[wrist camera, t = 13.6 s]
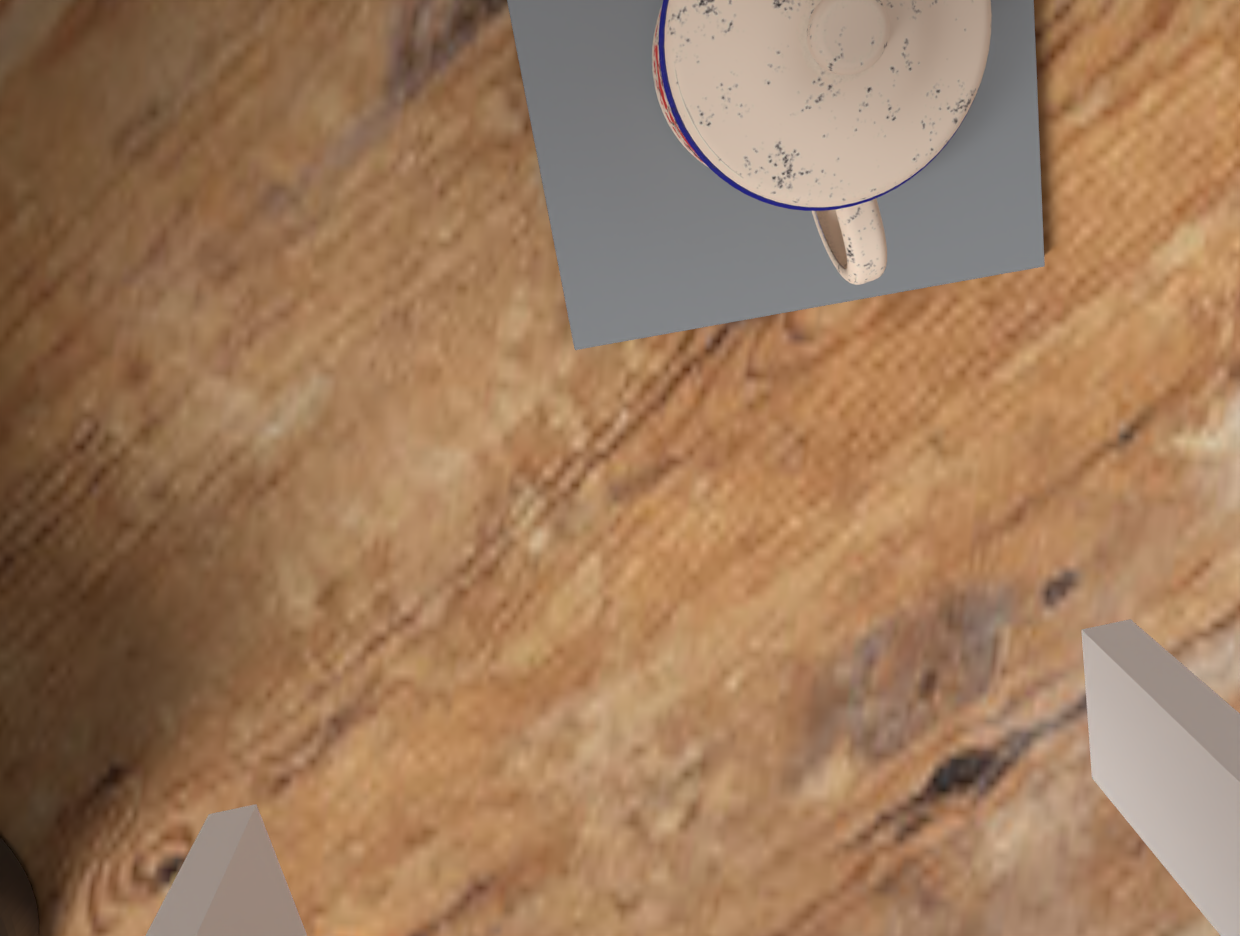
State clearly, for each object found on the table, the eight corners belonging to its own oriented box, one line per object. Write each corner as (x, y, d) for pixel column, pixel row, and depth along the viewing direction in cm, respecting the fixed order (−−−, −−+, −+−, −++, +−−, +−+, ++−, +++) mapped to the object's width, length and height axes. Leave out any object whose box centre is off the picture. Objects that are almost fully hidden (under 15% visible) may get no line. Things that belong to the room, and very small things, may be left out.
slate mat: (575, 345, 40) (574, 349, 39) (474, -177, 34) (471, -184, 33) (1035, 263, 39) (1044, 266, 39) (1012, -284, 34) (1021, -293, 33)
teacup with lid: (608, -31, 35) (614, -100, 24) (864, -129, 34) (994, -248, 23) (713, 300, 39) (762, 372, 28) (947, 218, 38) (1093, 259, 27)
